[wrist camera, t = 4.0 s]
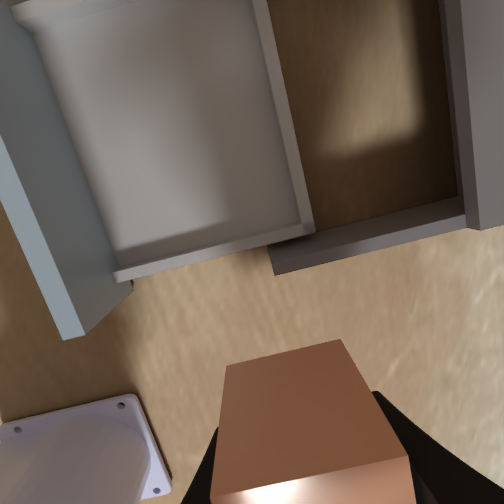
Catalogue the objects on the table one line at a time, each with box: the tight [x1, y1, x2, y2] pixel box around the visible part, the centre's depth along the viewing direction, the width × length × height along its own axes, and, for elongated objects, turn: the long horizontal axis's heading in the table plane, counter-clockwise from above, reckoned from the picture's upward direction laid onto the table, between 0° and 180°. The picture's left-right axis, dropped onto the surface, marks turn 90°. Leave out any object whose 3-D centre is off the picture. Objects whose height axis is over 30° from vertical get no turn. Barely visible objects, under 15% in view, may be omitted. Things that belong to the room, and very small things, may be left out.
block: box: [210, 339, 416, 504], centre depth 10 cm, size 4×4×5 cm
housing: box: [267, 0, 504, 276], centre depth 13 cm, size 12×15×5 cm
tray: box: [0, 0, 316, 340], centre depth 13 cm, size 12×15×5 cm
